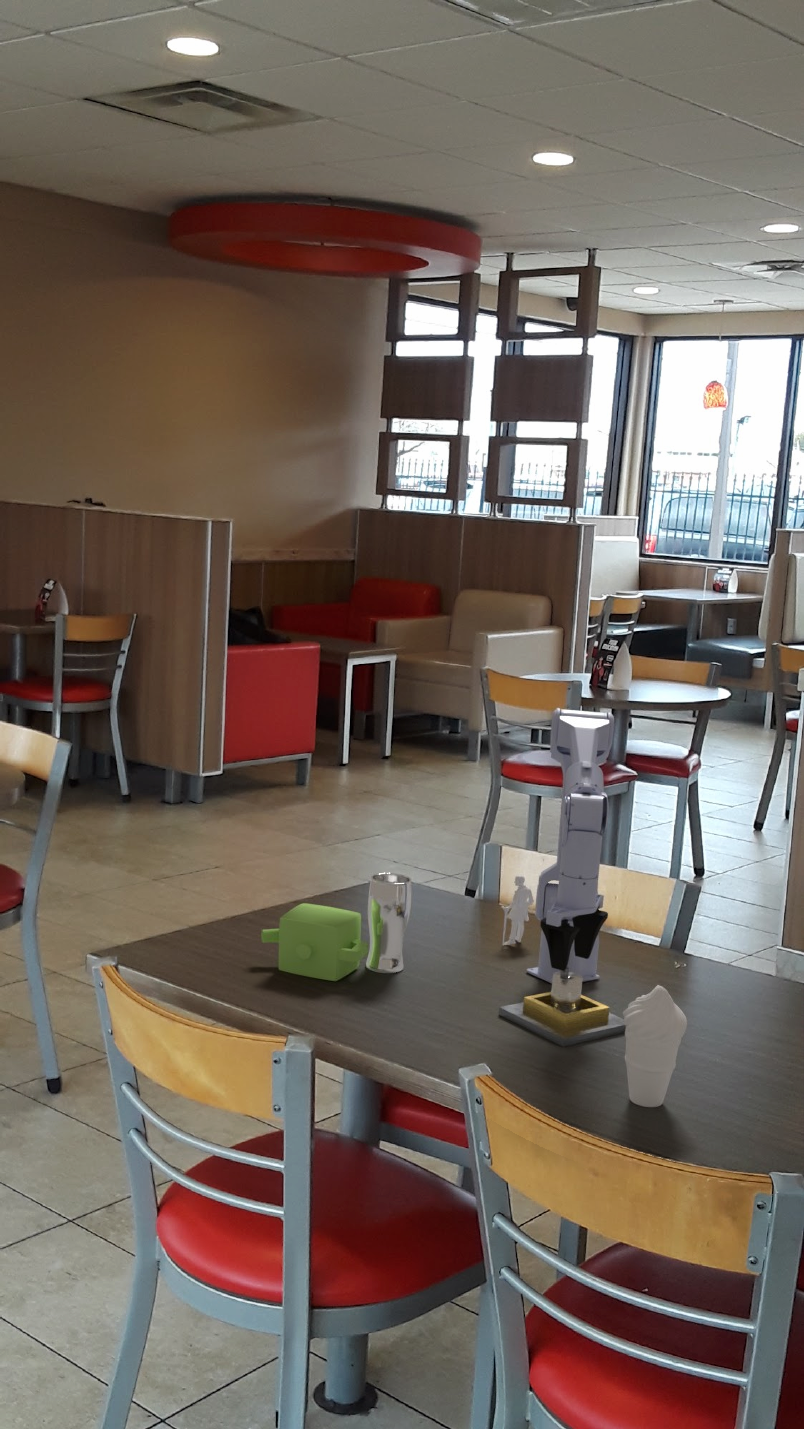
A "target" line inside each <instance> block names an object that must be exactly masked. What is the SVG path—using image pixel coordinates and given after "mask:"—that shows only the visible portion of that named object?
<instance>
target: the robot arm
mask: <svg viewBox="0 0 804 1429" xmlns="http://www.w3.org/2000/svg"><path fill="white" fill-rule="evenodd" d="M614 729H615V716H614V715H613V714H612V712H611V711H609V712H608V711H607V712H599V711H591V710H590V711H586V710H576V709H575V710H574V709H564V708H560V707H556V709H554V710H553V711H552V716H551V728H550V744H549V745H550V747H549V748H550V749H549V752H550V753H551V755H550V758H552V759H553V760H555V761H557V762H558V763H560V767H561V770H562V778H563V779H562V791H561V792H562V793H561V803H560V815H559V816H560V817H559V829H558V840H557V842H558V843H557V854H556V855H557V856H556V862H555V863H554V864H552V865H550V866H549V867H547V868H545V869H543V870H542V871H541V873H540V875H539V876H538V884H537V886H536V887H537V889H536V897H535V912H534V914H535V918H536V919H537V920H538V921H540V923H539V924H540V925H539V926H540V929H541V933H540V945H539V953H538V954H539V955H538V965H537V966H536V967H531V968H527V969H526V973H528V974H529V975H532V976H535V977H536V978H539V979H541V980H543V981H546V982H547V983H550V984H552V980H553V973H555V972H559V971H561V970H562V971H564V970H566V967H569V972H573V973H577V974H579V975H581V976H582V977H583V979H582V983H583V982H589V981H593V980H598V979H600V975H599V974H597V966H598V957H599V949H600V948H599V946H600V936H599V932H600V931H601V929H602V927H603V925H604V924H605V922H606V921H607V919H608V916H609V912H607V911H605V910H599V909H602V908H603V907H604V900H605V898H604V897H605V896H604V894H600V893H599V890H598V889H599V887H598V886H599V874H600V867H601V866H600V864H601V856H602V845H603V835H605V834H606V832H607V831H606V830H607V829H608V828H607V827H608V822H609V814H610V812H609V811H610V807H609V806H610V804H609V799H608V798H609V797H608V794H607V792H605V788H604V787H605V786H604V785H605V784H604V773H603V770H602V768H601V767H600V766H599V765H601V764H605V763H606V762H607V758H608V757H609V754H610V751H611V748H612V746H613V742H614V741H613V740H614V732H615V730H614ZM601 831H602V833H601ZM551 881H556V882H557V881H558V883H552V882H551Z"/></svg>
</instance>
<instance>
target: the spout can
mask: <svg viewBox="0 0 804 1429" xmlns="http://www.w3.org/2000/svg"><path fill="white" fill-rule="evenodd" d="M582 979H583V977H582V976H581V975H579V974H577V973H573V972H569V967H566V970H564V971H562V970H561V971H559V972H555V973H553V980H552V983H551V989H550V990H551V991H550V992H551V1001H550V1006H551V1007H553V1008H555V1009H557V1010H559V1011H561V1012H564V1013H571V1012H576V1011H579V1009H580V999H581V995H582V988H583V982H582Z"/></svg>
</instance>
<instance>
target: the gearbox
mask: <svg viewBox="0 0 804 1429" xmlns="http://www.w3.org/2000/svg"><path fill="white" fill-rule="evenodd" d="M278 925H279V928H270V929H267V928H266V929H261V934H260V935H261V936H260V937H261V942H262V943H265V944H266V943H278V970H279V971H282V972H286V973H290V974H293V975H299V976H302V977H303V976H304V977H309V978H313V979H320V980H326V981H331V982H337V981H339V980H341V979H343V978H344V977H346V976H347V975H349V974H351V973H352V972H354V971H356V969H357V968H358V967H360V960H362V959H364V958H365V957H366V956H368V954H369V943H367V942H365V941H363V940H361V936H362V935H361V933H362V932H361V930H362V929H361V928H362V927H361V926H362V914H361V913H360V912H356V911H352V910H348V909H343V908H337V907H332V906H326V905H319V904H314V903H313V904H312V903H306V902H303V903H300V904H298V905H296V906H295V907H293V908H292V909H290V910H288V911H287V912H286V913H285V914H283V915H282V916H280V917H279V924H278Z"/></svg>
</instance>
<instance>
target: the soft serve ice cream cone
mask: <svg viewBox="0 0 804 1429" xmlns="http://www.w3.org/2000/svg"><path fill="white" fill-rule="evenodd" d="M622 1015H623V1017H624V1018H623V1019H624V1020H623V1023H624V1024H625V1025H626V1030H625V1032H624V1036H625V1054H624V1061H625V1064H626V1073H627V1082H628V1083H627V1084H628V1085H627V1086H628V1095H629V1096H628V1097H629V1100H630V1102H632V1104H635V1105H638V1106H640V1107H644V1108H657V1107H660V1106H661V1105H663V1104H664V1100H665V1097H666V1094H667V1091H668V1087H669V1084H670V1081H671V1078H672V1075H673V1072H674V1070H675V1068H677V1064H676V1061H677V1058H678V1057H677V1056H678V1052H679V1046H680V1045H681V1043H682V1038H683V1036H685V1035H684V1034H685V1033H686V1030H687V1027H688V1019H687V1017H686V1015H685V1013H684V1012H683V1011H682V1009H681V1008H680V1007H679V1006H678V1005H677V1003H675V1002H674V1000H673V998H672V996H671V995H670V994H669V991H668V990H667V989H666V988H665V987H664V986H662V985H659V984H657V985H656V986H655V987H654V988H653V989H652V990H651V991H650V992H649V993H647V994H642V995H641V996H637V997H636V998H635V1000H633V1001H631V1002H629V1004H628V1005H627V1008H626V1009H625V1010H623V1012H622Z"/></svg>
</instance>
